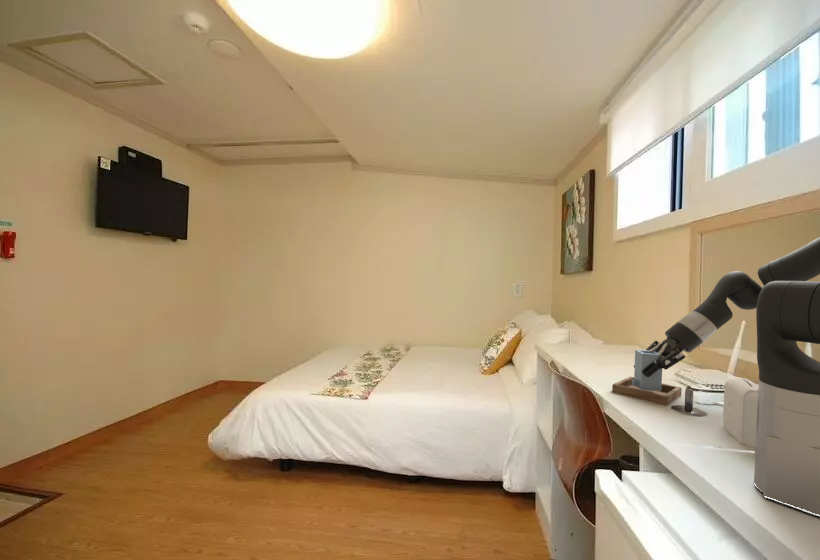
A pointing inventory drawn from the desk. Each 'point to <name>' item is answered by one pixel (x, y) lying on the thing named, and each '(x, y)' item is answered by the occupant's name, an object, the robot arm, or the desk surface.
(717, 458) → the desk surface
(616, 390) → the tray
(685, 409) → the round base metal stand
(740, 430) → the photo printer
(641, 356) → the blue square pencil cup
